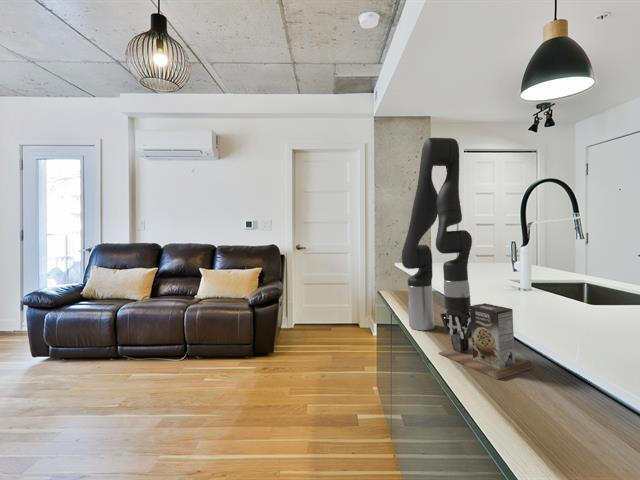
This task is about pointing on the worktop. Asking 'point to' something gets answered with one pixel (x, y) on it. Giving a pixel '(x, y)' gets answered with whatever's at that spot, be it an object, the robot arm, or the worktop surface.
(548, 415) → the worktop surface
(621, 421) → the worktop surface
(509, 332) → the brown boxy piece
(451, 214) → the robot arm
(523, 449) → the worktop surface
